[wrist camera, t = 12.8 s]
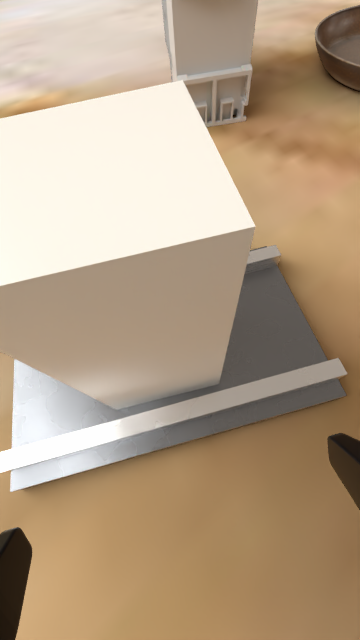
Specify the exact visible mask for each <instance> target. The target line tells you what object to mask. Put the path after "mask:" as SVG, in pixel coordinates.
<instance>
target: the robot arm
mask: <svg viewBox="0 0 360 640" xmlns="http://www.w3.org/2000/svg"><path fill="white" fill-rule="evenodd" d="M328 452H329V460H330V463H331V465H332V467H333V468H334V470H335V472H336V473H337V475H338V476H339V478H340V480H341V481H342V483H343V484H344V486H345V487H346V489H347V491H348V492H349V494H350V495H351V497H352V499H353V500H354V502H355V503H356V505H357V507H358V508H359V510H360V441H359V440H357V439H354V438H352V437H350V436H348V435H346V434H343V433H338V434H335V435H331V436H329V437H328ZM31 559H32V547H31V544H30V543H29V541H28V539H27V538H26V536H25V534H24V533H23V531H22V530H21V529H20V528H18V527H16V528H13V529H9V530H6V531H4V532H2V533H1V534H0V640H15V638H16V634H17V630H18V626H19V621H20V616H21V611H22V606H23V600H24V595H25V590H26V585H27V580H28V574H29V569H30V564H31Z"/></svg>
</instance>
